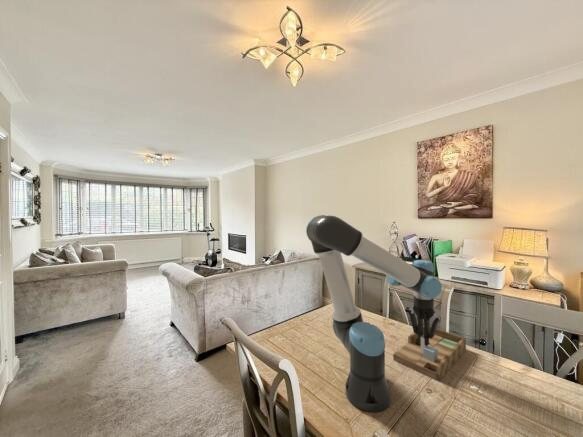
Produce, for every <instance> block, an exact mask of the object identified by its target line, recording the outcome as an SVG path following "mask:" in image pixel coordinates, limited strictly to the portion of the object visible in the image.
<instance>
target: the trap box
mask: <svg viewBox="0 0 583 437" xmlns="http://www.w3.org/2000/svg"><path fill="white" fill-rule="evenodd" d="M431 327H432V326H430V325H429V330H431ZM423 333H424V324H423ZM423 335H424V334H423ZM407 338H408V339H407V341H408V342H407V343H406V344H404V345H403V346H402V347H401V348H399V349H398V350H397V351H395V352H394V353H393V354H392V358H393V361H395V362H397V363H399V364H402V365H403V366H405V367H408V368H409V369H411V370H414V371H416V372H419V373H420V374H422V375H424V376H427V377H429V378H431V379H434V380H435V381H438V382H441V380H442V379H443V378H444V377H445V376H446V374H447V373H448V372H449V371H450V370H451V368H452V367H453V366H454V365H455V364H456V362H457V361H458V360H459V359H460V357H461V356H462V355H463V354H464V352H465V351H466V350H467V346H466V344H467V341H466V340H467V338H466V337H464V336H461V335H457V334H455V333H451V332H448V331H445V330H442V329H438V328H436V331H435V335H434V337H433V338H432V339H430V338H429V346H432V347H434V348H437V349H438V358H437V359H436V360H435V361H434V362H433V361H430V360H428V359H426V358H424V353H422V352H421V343H419V342H418V334H416V333H414V332H412V333H411V334H409V335H408V336H407Z"/></svg>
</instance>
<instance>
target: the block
mask: <svg viewBox="0 0 583 437" xmlns="http://www.w3.org/2000/svg"><path fill="white" fill-rule="evenodd" d="M423 351H424V358H426V359H428V360H430V361H433V362H434V361H435V360H436V359H437V358H438V349H437V348H434V347H432V346H429V345H428V346H426V347H424V348H423Z"/></svg>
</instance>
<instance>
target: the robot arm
mask: <svg viewBox="0 0 583 437" xmlns="http://www.w3.org/2000/svg"><path fill="white" fill-rule="evenodd" d="M305 232H306V236H307V237H308V238H307V239H308V240H309V241H310V243H311V246H312V250H313V252H314V254H316V255H318V257H319V260H320V264H321V267H322V271H323V275H324V279H325V281H326V285H327V289H328V293H329V295H330V299H331V304H332V306H333V307H332V308H333V309H334V310H333V312H332V314H331V316H332V329H333V330H332V331H333V333H334V334H335V336H336V338H337V339H338V340H339V341H340V342H341V344H342V345H343V346H344V348H345V349H346V351H347V352H348V354H349V367H350V368H349V372H348V376H347V378H346V382H345V387H344V389H345V396H346V398H347V400H348V401H349V403H350V404H352V405H353V406H354V407H356V409H360V410H362V411H365V412H369V413H380V412H383V411H385V410H387V409H388V408H389V407H390V405H391V399H392V398H391V397H392V396H391V390H390V388H389V384H388V382H387V379H386V372H385V371H386V369H385V368H386V367H385V366H386V364H385V363H386V362H385V360H386V357H385V356H386V355H385V354H386V353H385V352H386V350H385V349H386V341H385V336H384V333H383V331H382V329H381V328H380V327H378V326H377V325H375V324H373V323H372V324H371V323H370V322H367V321H364V318H363V316H362V315H363V314H362V311H361V309H360V308H359V307H358V306H356V303H355V301H354V297H353V293H352V289H351V285H350V281H349V279H348V274H347V272H346V271H347V270H346V266H345V263H344V260H343V256H342V254H343V255H345V256H346V257H350V256H353V257H354V258H356V259H358V260H360V261H361V262H363V263H364V264H366V265H368V266H370V267H371V268H372V269H373V268H374V269H375V270H377V271H379V272H381V273H383V274H384V275H386V280H387V282H388V284H389V285H390V286H395V287H396V286H397V287H398V286H399V287H400V286H402V287H404V288H406V289H409V290H410V291H412V292H413V306H412V307H411V308H409V309H407V313H408V315H409V319H410V321H411V326H412V331H413V333H416V334H418V342H419V343H421V352H422V353H424V351H423V348H424V347H426V346H428V345H429V338H430V339H432V338H433V337H434V335H435V331H436V329H438V328H437V327H438V324H439V322H440V320H441V319H442V317H441V316H440V315H439V316H438V315H437V314H436V311H435V310H434V309H435V308H434V306H435V305H434V304H435V303H434V300H435V298H438V297H439V296H440V295H441V293H442V290H443V286H442V282H441V281H440V280H439V278H437V277H435V275H434V272H435V271H434V263H433V262H432V261H431V260H425V259H416V260H413V264H412V265H411V264H410V263H408V261H406V260H403V259H401V258H400V257H398V256H397V255H395V254H393V253H391V251H388V250H386V249H385V248H383V247H381V246H379V245H378V244H376V243H374V242H373V241H371V240H370V239H368V238H367V237H365V236H364V235H363V232H361V231H360V230H358V229H357V228H355V227H354V226H353V225H351V224H350V223H348V222H346V221H345V220H343V219H342V218H340V217H338V216H335V215H324V214H321V215H317V216H315V217H312V218H311V219H310V220H309V221H308V223H307V225H306V229H305ZM416 317H417V318H416ZM431 318H432V320H433V321H432V325H431V326H430V322H431ZM423 325H424V333H423ZM429 326H430V327H431V330H429ZM423 334H424V335H423Z"/></svg>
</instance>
